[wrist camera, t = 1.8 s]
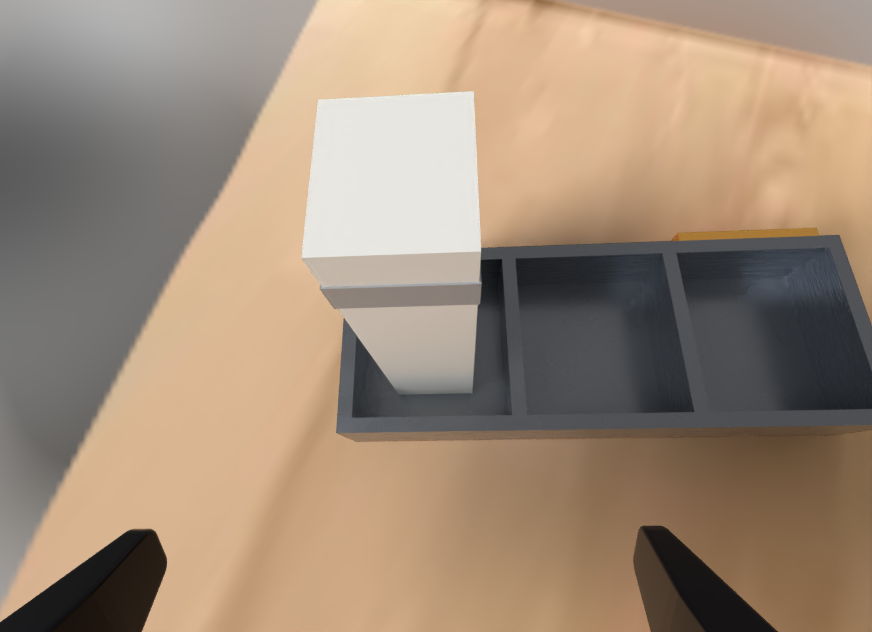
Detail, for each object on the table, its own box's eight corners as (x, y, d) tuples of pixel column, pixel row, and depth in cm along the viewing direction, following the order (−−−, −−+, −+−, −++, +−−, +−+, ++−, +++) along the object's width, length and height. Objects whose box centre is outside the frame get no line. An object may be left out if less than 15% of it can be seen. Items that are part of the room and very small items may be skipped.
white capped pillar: (473, 394, 22) (483, 253, 9) (397, 395, 22) (298, 260, 9) (470, 313, 23) (475, 89, 10) (399, 315, 24) (316, 98, 10)
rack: (784, 263, 24) (836, 227, 21) (836, 435, 21) (906, 424, 18) (364, 278, 25) (348, 245, 22) (356, 441, 22) (336, 432, 19)
